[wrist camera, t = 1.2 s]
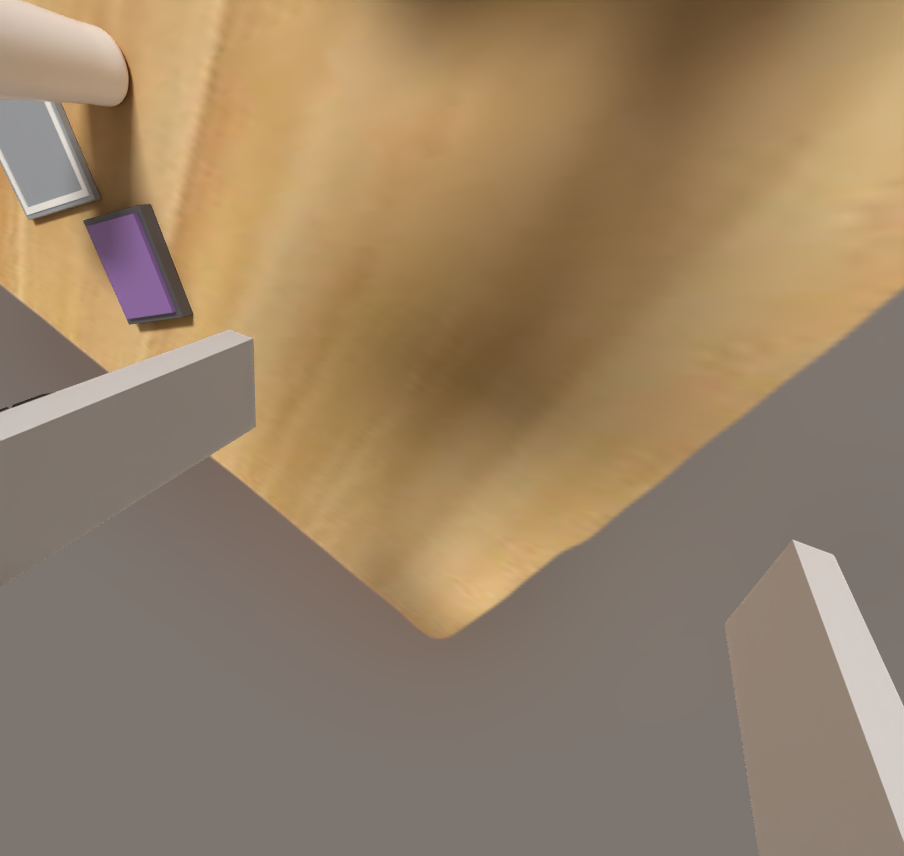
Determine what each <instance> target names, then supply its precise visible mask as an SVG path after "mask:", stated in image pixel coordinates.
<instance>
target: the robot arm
mask: <svg viewBox="0 0 904 856" xmlns="http://www.w3.org/2000/svg"><path fill="white" fill-rule="evenodd" d="M255 427H256V419H255V383H254V346H253V338H251V337H248V336H245V335H243V334H240V333H237V332H235V331H232V330H226V331H224V332H221V333H218V334H215V335H213V336H210V337H207V338H204V339H201V340H199V341H196V342H193V343H190V344H188V345H185V346H182V347H179V348H177V349H174V350H171V351H168V352H165V353H163V354H160V355H157V356H154V357H152V358H149V359H146V360H143V361H141V362H138V363H135V364H132V365H130V366H127V367H124V368H121V369H118V370H116V371H113V372H110V373H107V374H105V375H102V376H99V377H96V378H94V379H91V380H88V381H85V382H83V383H80V384H77V385H74V386H71V387H69V388H66V389H63V390H61V391H58V392H53V393H48V394H42V395H39V396H37V397H34V398H31V399H28V400H25V401H23V402H20V403H17V404H14V405H13V407H12V408H7V407H6V408H3V409H0V587H1V586H3V585H4V584H5V583H7V582H9V581H11V580H12V579H13V578H15V577H17V576H18V575H20V574H22V573H23V572H25V571H26V570H28V569H30V568H31V567H33V566H34V565H36V564H38V563H39V562H41V561H42V560H44V559H46V558H47V557H49V556H50V555H52V554H54V553H55V552H57V551H58V550H60V549H62V548H63V547H65V546H66V545H68V544H69V543H71V542H73V541H74V540H76V539H77V538H79V537H81V536H82V535H84V534H85V533H87V532H89V531H90V530H92V529H93V528H95V527H97V526H98V525H100V524H101V523H103V522H105V521H106V520H108V519H109V518H111V517H113V516H114V515H116V514H117V513H119V512H121V511H122V510H124V509H125V508H127V507H129V506H130V505H132V504H133V503H135V502H137V501H138V500H139V499H141V498H143V497H144V496H146V495H148V494H149V493H151V492H152V491H154V490H155V489H157V488H159V487H160V486H162V485H164V484H165V483H167V482H168V481H170V480H172V479H173V478H175V477H176V476H178V475H180V474H181V473H183V472H184V471H186V470H188V469H189V468H191V467H192V466H194V465H196V464H197V463H199V462H200V461H202V460H203V459H205V458H206V457H208V456H210V455H211V454H213V453H215V452H216V451H218V450H219V449H221V448H223V447H224V446H226V445H227V444H229V443H231V442H232V441H234V440H235V439H237V438H239V437H240V436H242V435H243V434H245V433H247V432H248V431H250V430H251V429H253V428H255ZM725 630H726V636H727V643H728V649H729V657H730V664H731V670H732V677H733V684H734V690H735V697H736V703H737V711H738V717H739V724H740V731H741V737H742V745H743V751H744V758H745V765H746V772H747V778H748V785H749V792H750V798H751V805H752V811H753V819H754V825H755V832H756V839H757V846H758V852H759V856H904V706H903V704H902V702H901V700H900V697H899V695H898V693H897V691H896V689H895V687H894V684H893V682H892V680H891V678H890V676H889V674H888V671H887V669H886V667H885V665H884V663H883V661H882V658H881V656H880V654H879V652H878V650H877V648H876V646H875V643H874V641H873V639H872V637H871V635H870V632H869V630H868V628H867V626H866V624H865V622H864V620H863V617H862V615H861V613H860V611H859V609H858V606H857V604H856V602H855V600H854V598H853V596H852V593H851V591H850V589H849V587H848V585H847V583H846V581H845V578H844V576H843V574H842V572H841V570H840V568H839V565H838V563H837V561H836V559H835V557H834V555H832V554H830V553H827V552H824V551H821V550H819V549H816V548H814V547H811V546H808V545H805V544H803V543H800V542H797V541H795V540H792V541H791V542H790V543H789V545H788V546H787V547H786V549H785V550H784V551H783V552H782V553H781V555H780V556H779V557H778V558H777V559H776V561H775V562H774V563H773V565H772V566H771V567H770V568H769V569H768V571H767V572H766V573H765V574H764V576H763V577H762V578H761V579H760V581H759V582H758V583H757V584H756V586H755V587H754V588H753V589H752V591H751V592H750V593H749V594H748V595H747V597H746V598H745V599H744V600H743V602H742V603H741V604H740V605H739V606H738V608H737V609H736V610H735V611H734V613H733V614H732V615H731V616H730V618H729V619H728V620H727V621H726V623H725Z"/></svg>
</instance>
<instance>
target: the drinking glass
mask: <svg viewBox="0 0 904 856" xmlns="http://www.w3.org/2000/svg"><path fill="white" fill-rule="evenodd" d="M128 85H129V77H128V69H127V65H126V62H125V59H124V56H123V54H122V52H121V50H120V48H119V46H118V45H117V43H116V42H115V41H114V39H113V38H112V37H111V36H110V35H109V34H108V33H107V32H105V31H104V30H103V29H101V28H99V27H97V26H95V25H92V24H89V23H85V22H82V21H78V20H75V19H72V18H69V17H66V16H63V15H61V14H58V13H55V12H53V11H50V10H47V9H45V8H42V7H39V6H37V5H34V4H31V3H29V2H26V1H23V0H0V100H2V101H30V102H54V103H76V104H91V105H98V106H106V107H111V106H116V105H118V104H120V103H121V102H122V101H123V100H124V98H125V97H126V94H127V91H128Z"/></svg>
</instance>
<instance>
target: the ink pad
mask: <svg viewBox="0 0 904 856" xmlns="http://www.w3.org/2000/svg"><path fill="white" fill-rule="evenodd" d="M84 224H85V226H86V228H87V230H88V233H89V235H90V237H91V239H92V242H93V244H94V246H95V248H96V251H97V253H98V255H99V258H100V260H101V262H102V264H103V267H104V269H105V271H106V273H107V276H108V278H109V280H110V282H111V285H112V287H113V289H114V291H115V294H116V296H117V298H118V300H119V303H120V305H121V307H122V309H123V312H124V314H125V316H126V318H127V321H128V323H129V325H130V324H137V323H144V322H152V321H159V320H166V319H173V318H181V317H185V316H189V315H192V314H193V313H192V310H191V308H190V305H189V303H188V300H187V297H186V295H185V292H184V290H183V287H182V284H181V282H180V279H179V277H178V274H177V271H176V269H175V266H174V264H173V261H172V259H171V256H170V253H169V251H168V248H167V246H166V243H165V240H164V238H163V235H162V233H161V230H160V227H159V225H158V222H157V220H156V217H155V215H154V212H153V209H152V207H151V204H146V205H136V206H133V207H129V208H126V209H122V210H119V211H115V212H112V213H108V214H105V215H101V216H98V217H94V218H91V219H87V220H84Z"/></svg>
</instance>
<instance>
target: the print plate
mask: <svg viewBox="0 0 904 856" xmlns="http://www.w3.org/2000/svg"><path fill="white" fill-rule="evenodd" d="M0 163H1V165H2V167H3V169H4V171H5V173H6V175H7V177H8V179H9V182H10V184H11V186H12V188H13V190H14V192H15V194H16V196H17V198H18V200H19V202H20V204H21V206H22V208H23V210H24V212H25V215H26V217H27V219H28V220H35V219H38V218H41V217H45V216H48V215H51V214H54V213H58V212H61V211H64V210H67V209H71V208H74V207H77V206H80V205H84V204H87V203H90V202H93V201H97V200H100V199H101V197H100V195H99V192H98V190H97V188H96V185H95V183H94V181H93V178H92V176H91V173H90V171H89V169H88V166H87V164H86V162H85V159H84V157H83V154H82V152H81V150H80V147H79V145H78V143H77V140H76V138H75V135H74V133H73V131H72V128H71V126H70V124H69V121H68V119H67V117H66V114H65V112H64V109H63V107H62V105H61V103H54V102H30V101H2V100H0Z"/></svg>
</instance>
